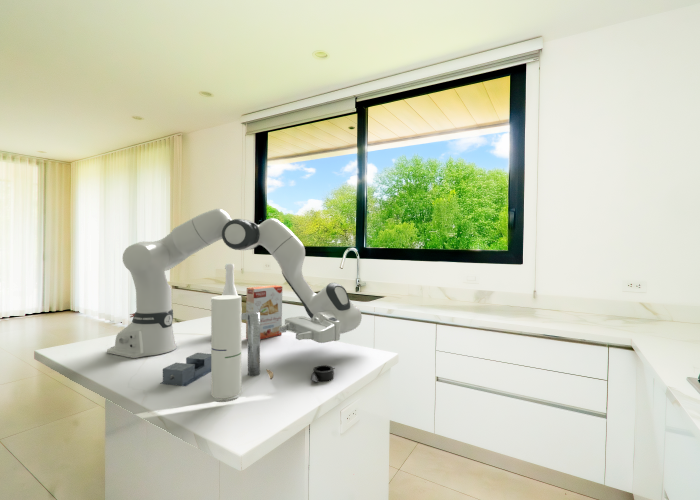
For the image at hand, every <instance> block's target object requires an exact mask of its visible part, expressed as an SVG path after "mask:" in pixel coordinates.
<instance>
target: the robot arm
mask: <svg viewBox="0 0 700 500" xmlns="http://www.w3.org/2000/svg"><path fill="white" fill-rule="evenodd" d="M220 240H222V241H223V243H224V244H225V245H226V246H227V247H228V248H229V249H233V250H235V251H249V250H253V249H256V248H257V247H259V246H262V247H263V248H265V249H266V251H268V253H269V254H270V255H271V256H272V257H273V258H274V260H275V261H276V262H277V264H278V266H279V268H280V270H281V274H282V276H283V278H284V281H286V283H287V284H288V286H289V287H290V289H292V291H293V293H294V294H295V295H296V297H297V298H298V300H299V301H300V302H301V304H302V305H303V307H304V309H305V312H306V314H307V315H308V317H307V316H303V315H301V316H291V317H288V318H286V319H284V325H282V326H280V327H279V332H281V333H282V334H283V333H287V331H289V332H292V333H294V334H295V340H298V341H302V340H312V341H314V342H316V343H319V344H320V343H321V344H322V343H323V344H324V343H330V342H333V341H334V342H337V341H340V339H341V338H340V337H341V334H342V335H343V334H345V333H346V334H347V333H348V332H352V331H354V330H357V329H356V328H358V327H359V326H360V325H361V322H362V317H363V316H362V311H361V310H360V308H359V307H358V306H357V305H354V303H353V302H352V301H351V299H350V298H349V295H348V291H347V290H346V288H345V287H344V286H342V285H341V284H339V283H337V282H329V283H328V284H326V286H324V287H323V288H322V289H321V290H320V291H318V292H317V293H316V292H315V291H314V290H313V289H312V288H311V286H310V285H309V283H308V282H307V280H306V279H305V277H304V275H303V264H304V261H305V258H306V249H305V248H306V247H305V246H304V244H303V242H302V241H301V240H300V238H299V237H298V236H296V234H295V233H294V232H293V231H292V230H291V229H290V228H289V227H287V225H285V223H283V222H282V221H280V220H279V219H277V218H275V217H274V218H273V217H271V218H267V219H265V220H264V221H262V222H261V223H260V224H259V223H258V224H257V223H256V222H254V221H251V220H249V219H243V218H235V219H233V218H232V217H231V215H230V214H229V212H227V211H226V210H224V209H222V208H214V209H211V210H208V211H205V212H203V213H201V214H198V215H196V216H194V217H193V218H191V219H189V220H187V221H185V222H183V223H181V224H180V225H177V226H175V227H174V228H172V231H171V232H169V234H167V235H166V236H165V237H163V238H161V239H159V240H155V241H139V242H136V243H133V244H131V245H129V246H128V247H126V248H125V250H124V251H123V253H122V263H123V265H124V267H125V268H126V269H127V270H128V271H129V273H130V275H131V277H132V280H133V284H134V288H135V300H136V301H135V302H136V308H135V309H136V311H135V313H130V314H129V318H132V321H131V323H129V324H128V325H127V326H126V327H124V328H123V329H122V330H120V331H119V332H118V333H117V334H116V336H115V339H114V340H115V343H114V345H113V346H111V347H108V349H107V350H106V353H107V354H112V355H117V356H121V357H125V358H126V357H127V358H132V359H135V358H136V359H137V358H142V357H147V356H149V357H150V356H157V355H162V354H166V353H168V352H172V351H174V350H175V349H177V348H178V347H177V343H176V340H175V336H174V335H175V334H174V327H173V321H174V310H173V307H172V306H173V304H172V303H173V302H172V300H173V299H172V295H173V294H172V293H173V292H172V286H171V285H170V284H169V283H168V280H167V277H166V271H167V272H168V271H169V270H171V269H173V268H175V267H177V265H179V264H181V263H182V262H184V261H185V260H187V259H188V258H189V257H191V256H192V255H194V254H195V253H197V252H199V251H201V250H203V249H205V248H207V247H209V246H211V245H213V244H214V243H216V242H218V241H220Z"/></svg>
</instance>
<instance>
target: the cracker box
mask: <svg viewBox="0 0 700 500" xmlns="http://www.w3.org/2000/svg"><path fill="white" fill-rule="evenodd" d="M245 308H246V311H245V313H249V312H260V340H263V339H269V338H274V337H278V336H282V334H283V333H281V332H279V327H280V326H283V323H282V322H283V319H282V318H283V286H282V285H276V284H275V285H264V286H262V285H261V286H253V287H251V286H250V287H246V305H245ZM245 321H246V322H245V338H246V339H247V340H248V320H245Z"/></svg>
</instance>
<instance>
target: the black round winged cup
mask: <svg viewBox="0 0 700 500" xmlns="http://www.w3.org/2000/svg"><path fill="white" fill-rule="evenodd" d="M335 369H336V368H335V367H333V366H331V365H327V364H326V365H325V364H324V365H317V366H315V367H313V371H312V373H311V377H310V381H313V382H316V383H317V382H318V383H319V382H320V383H324V382H325V383H327V382H331V381H332V380H333V379H334V374H335V373H334V370H335Z"/></svg>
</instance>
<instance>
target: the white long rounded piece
mask: <svg viewBox="0 0 700 500" xmlns="http://www.w3.org/2000/svg"><path fill="white" fill-rule="evenodd" d="M224 267H225V268H224V269H225V282H224V287H223V290H222V293H221V296H222V295H238V296H239V294H238V292H237V288H236V285H235V263H225V266H224ZM242 311H243V309H242V305H241V313H243V312H242ZM242 327H243V326H242V320H241V332H242Z"/></svg>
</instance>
